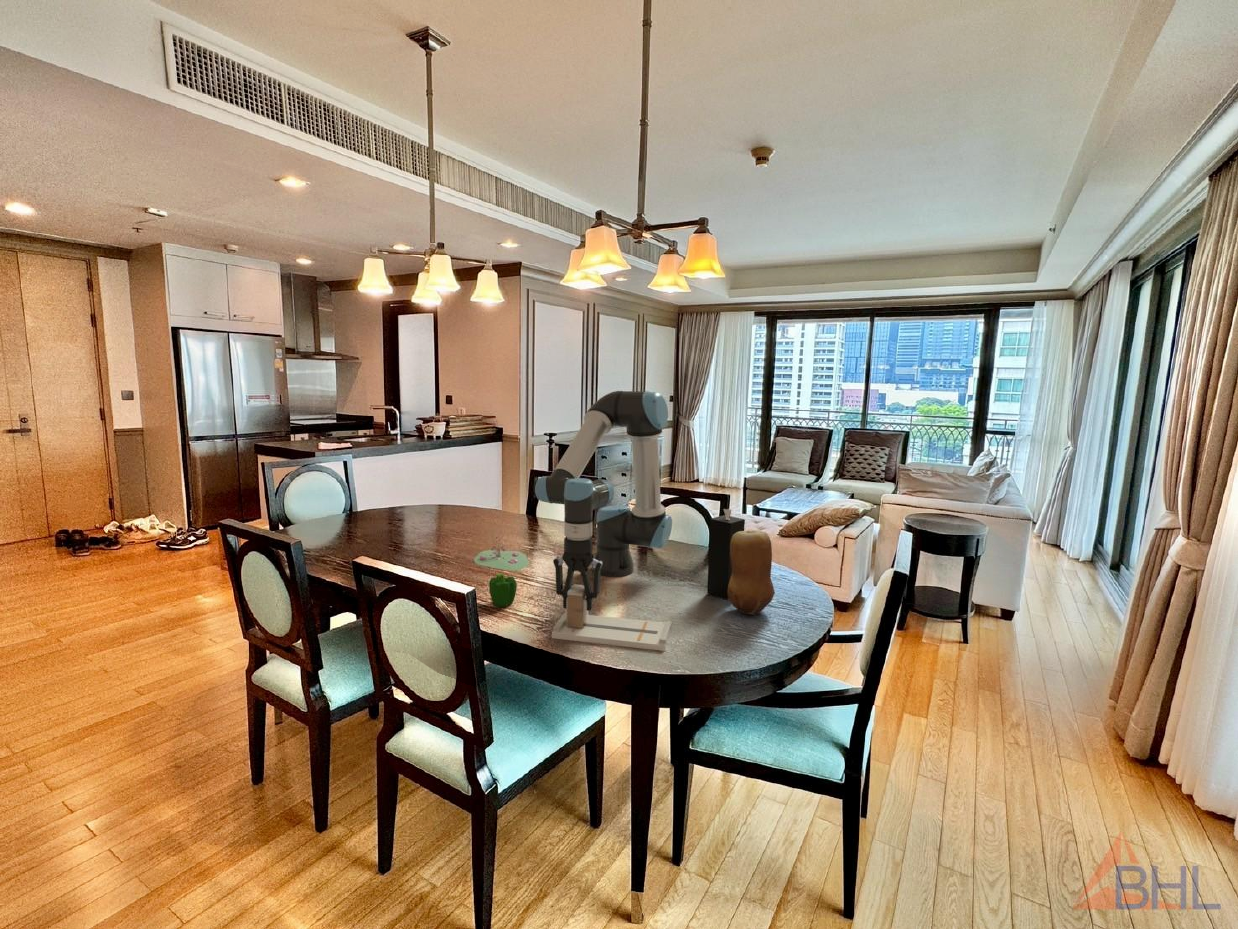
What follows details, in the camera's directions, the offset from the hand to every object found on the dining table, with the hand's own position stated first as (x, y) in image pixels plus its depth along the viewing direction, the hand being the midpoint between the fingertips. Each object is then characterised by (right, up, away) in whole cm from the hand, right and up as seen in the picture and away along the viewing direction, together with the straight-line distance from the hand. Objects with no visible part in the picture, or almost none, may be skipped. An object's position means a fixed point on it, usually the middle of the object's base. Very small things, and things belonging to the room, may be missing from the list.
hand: (577, 620), depth 162 cm
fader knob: (0, -1, 0) cm, 1 cm away
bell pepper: (-24, 0, +18) cm, 30 cm away
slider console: (+10, -3, -2) cm, 10 cm away
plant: (-31, +6, +60) cm, 68 cm away
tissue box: (+45, +1, +29) cm, 54 cm away
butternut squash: (+50, -2, +14) cm, 52 cm away
